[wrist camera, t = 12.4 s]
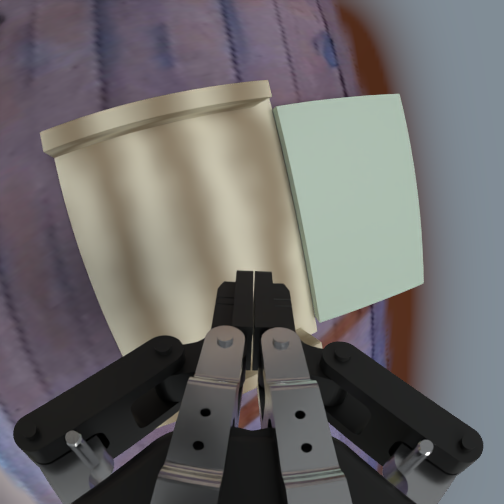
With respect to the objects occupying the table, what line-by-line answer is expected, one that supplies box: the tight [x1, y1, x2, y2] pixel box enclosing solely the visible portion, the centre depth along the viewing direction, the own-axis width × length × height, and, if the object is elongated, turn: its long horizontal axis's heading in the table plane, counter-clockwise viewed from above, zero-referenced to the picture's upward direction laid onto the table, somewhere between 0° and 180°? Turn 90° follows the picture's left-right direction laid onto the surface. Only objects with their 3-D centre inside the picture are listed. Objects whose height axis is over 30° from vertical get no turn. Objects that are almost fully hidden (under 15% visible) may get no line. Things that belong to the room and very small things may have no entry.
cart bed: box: [40, 80, 322, 428], centre depth 27 cm, size 20×26×7 cm
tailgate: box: [273, 94, 424, 323], centre depth 31 cm, size 2×22×14 cm
